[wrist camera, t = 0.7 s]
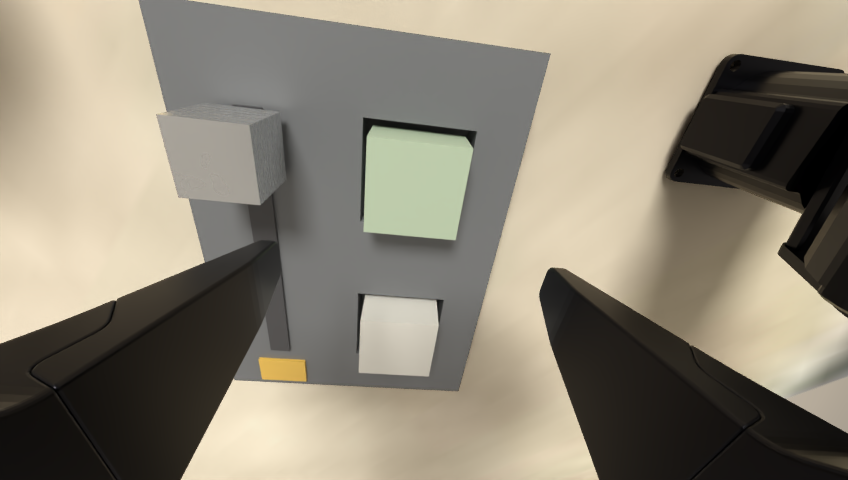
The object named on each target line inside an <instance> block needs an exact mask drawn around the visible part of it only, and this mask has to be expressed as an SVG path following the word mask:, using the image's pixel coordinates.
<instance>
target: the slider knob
mask: <svg viewBox="0 0 848 480" xmlns="http://www.w3.org/2000/svg"><path fill="white" fill-rule="evenodd" d="M156 116H157V119H158V123H159V127H160V130H161V134H162V138H163V142H164V145H165V149H166V153H167V156H168V160H169V164H170V168H171V171H172V175H173V179H174V182H175V186H176V190H177V194H178V197H179V198H189V199H200V200H210V201H221V202H231V203H242V204H252V205H261V204H262V203H263V202H264V201H265V200H266V199H267V198H268V197H269V196H270V195H271V194H272V193H273V192H274V191H275V190H276V189H277V188H278V187H279V186H280V185H281V184H282V183H283V182H284V181H285V180H286V169H285V158H284V147H283V136H282V125H281V114H280V112H277V111H269V110H261V109H253V108H244V107H236V106H228V105H220V104H211V103H203V104H199V105H194V106H190V107H186V108H181V109H177V110H173V111H168V112H164V113H159V114H156Z"/></svg>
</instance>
